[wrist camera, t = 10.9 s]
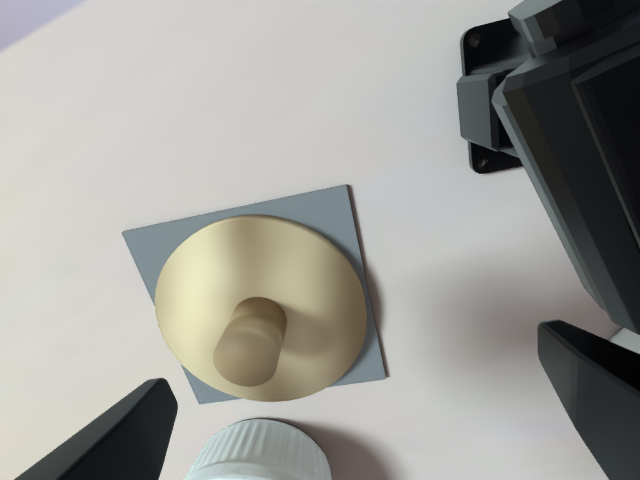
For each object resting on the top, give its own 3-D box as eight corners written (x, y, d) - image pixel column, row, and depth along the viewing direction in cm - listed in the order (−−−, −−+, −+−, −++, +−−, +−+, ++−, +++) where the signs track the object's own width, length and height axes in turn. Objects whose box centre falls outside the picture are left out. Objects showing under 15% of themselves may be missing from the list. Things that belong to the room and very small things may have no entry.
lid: (342, 192, 19) (341, 220, 15) (381, 375, 23) (390, 437, 19) (129, 237, 21) (76, 274, 17) (203, 401, 25) (175, 462, 21)
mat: (346, 184, 19) (346, 185, 19) (385, 375, 24) (385, 379, 24) (124, 230, 21) (121, 232, 21) (200, 401, 26) (198, 404, 25)
